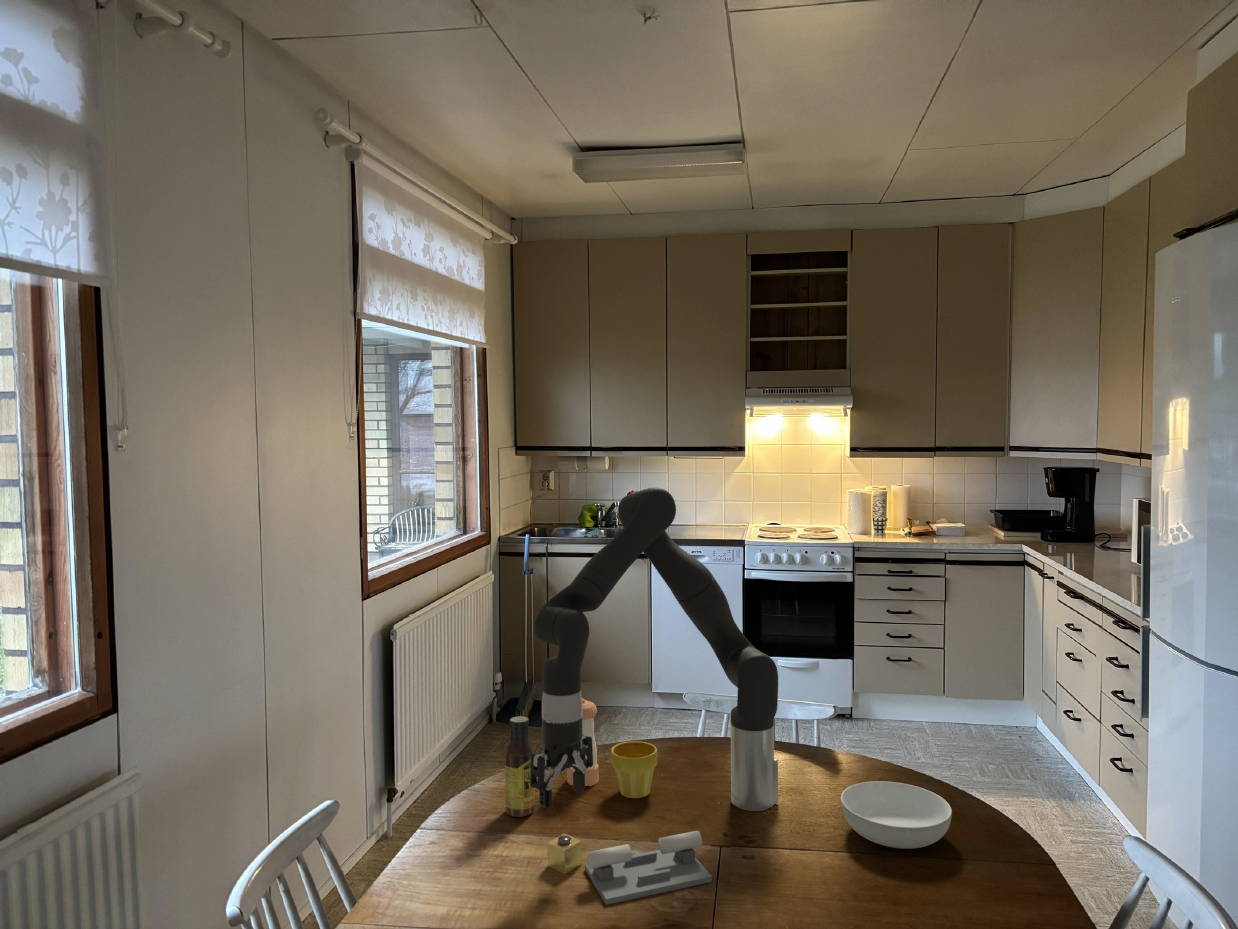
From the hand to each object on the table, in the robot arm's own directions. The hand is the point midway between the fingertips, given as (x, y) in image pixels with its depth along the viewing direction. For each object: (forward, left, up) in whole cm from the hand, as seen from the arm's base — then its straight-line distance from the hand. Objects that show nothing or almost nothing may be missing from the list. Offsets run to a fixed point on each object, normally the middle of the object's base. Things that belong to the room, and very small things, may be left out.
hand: (562, 800), depth 152 cm
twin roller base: (-13, +9, -12) cm, 20 cm away
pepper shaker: (-14, -34, -12) cm, 39 cm away
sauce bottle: (+3, -24, -12) cm, 27 cm away
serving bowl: (-64, +13, -13) cm, 67 cm away
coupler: (0, 0, -12) cm, 12 cm away
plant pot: (-23, -24, -12) cm, 35 cm away
